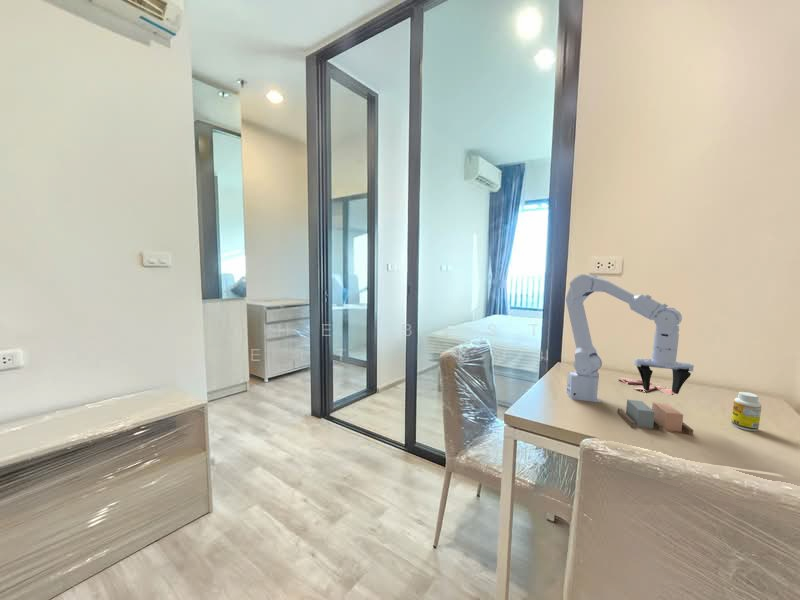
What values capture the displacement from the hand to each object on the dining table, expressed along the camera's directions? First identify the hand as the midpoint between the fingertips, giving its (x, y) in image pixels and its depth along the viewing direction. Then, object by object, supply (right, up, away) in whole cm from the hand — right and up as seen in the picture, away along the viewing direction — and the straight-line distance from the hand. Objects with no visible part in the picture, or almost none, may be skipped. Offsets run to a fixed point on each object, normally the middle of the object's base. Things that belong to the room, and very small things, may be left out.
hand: (660, 391), depth 101 cm
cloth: (+17, -8, +31) cm, 36 cm away
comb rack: (-5, -9, -4) cm, 11 cm away
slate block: (-9, -8, -3) cm, 12 cm away
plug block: (-2, -9, -4) cm, 10 cm away
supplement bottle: (+22, -10, -4) cm, 24 cm away
